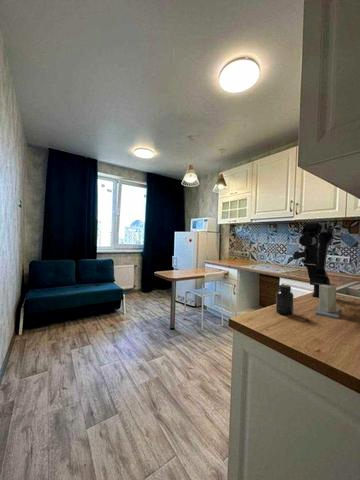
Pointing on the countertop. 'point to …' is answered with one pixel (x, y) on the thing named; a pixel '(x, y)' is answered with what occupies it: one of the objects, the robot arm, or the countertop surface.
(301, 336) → the countertop surface
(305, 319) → the countertop surface
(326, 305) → the box
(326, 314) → the mat
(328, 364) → the countertop surface
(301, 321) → the countertop surface
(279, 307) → the supplement bottle
